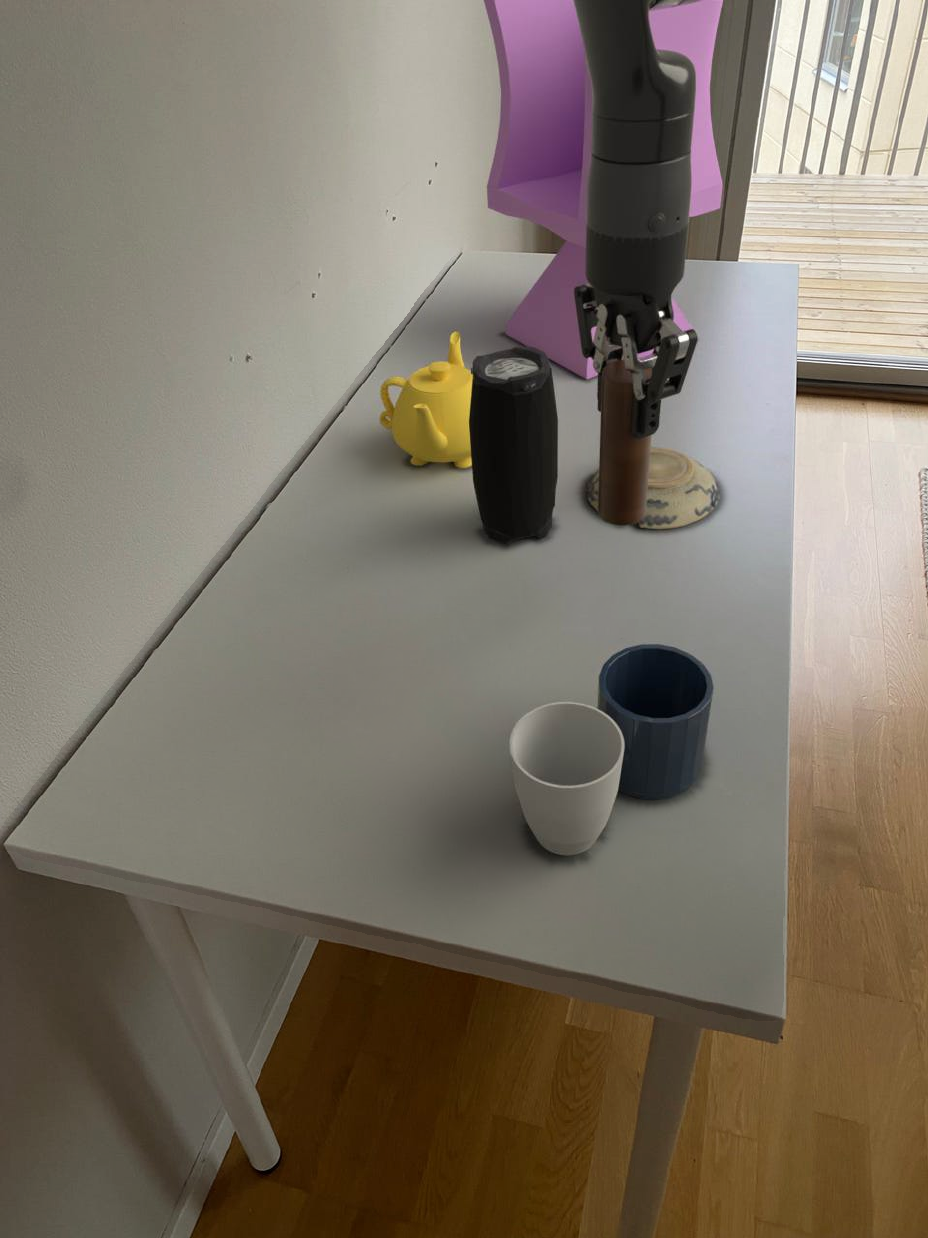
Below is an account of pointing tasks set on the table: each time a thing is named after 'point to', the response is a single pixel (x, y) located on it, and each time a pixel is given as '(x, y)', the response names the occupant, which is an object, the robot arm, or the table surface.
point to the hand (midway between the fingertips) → (626, 421)
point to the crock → (657, 717)
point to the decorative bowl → (672, 490)
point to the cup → (566, 773)
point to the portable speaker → (514, 442)
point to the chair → (575, 149)
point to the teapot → (433, 411)
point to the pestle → (621, 451)
